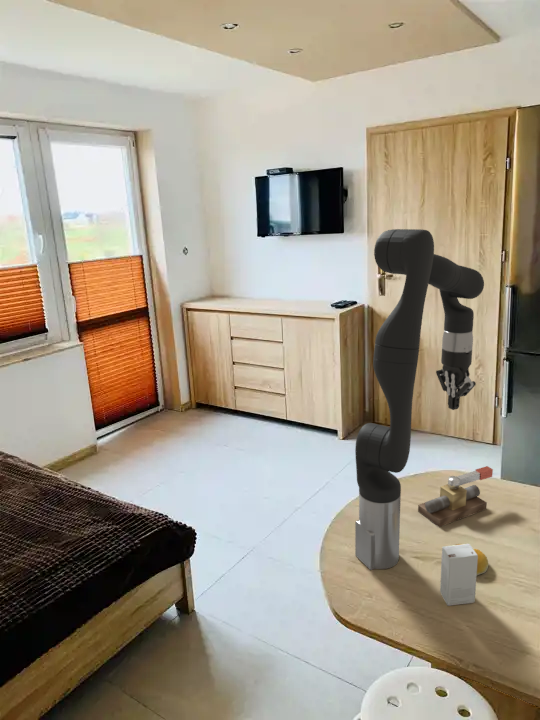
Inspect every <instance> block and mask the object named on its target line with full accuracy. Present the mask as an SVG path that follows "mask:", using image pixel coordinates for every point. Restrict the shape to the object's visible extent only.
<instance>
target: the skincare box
mask: <svg viewBox="0 0 540 720" xmlns="http://www.w3.org/2000/svg"><path fill="white" fill-rule="evenodd" d="M460 544H461V545H456V544H454V545H445V546H441V567H440V568H441V569H440V584H439V585H440V586H439V587H440V588H439V592H440V594H441V597H442V599H443V601H444V602H445V604H446V606H447V607H448V606H449V607H450V606H456V605H465V604H466V605H467V604H473V603H476V601H475V599H476V588H477V587H476V586H477V576H478V575H477V560H478V555H477V554H476V552H475V551H474V550H473V549H474V547H473V546H472V545H471V544H470V543H460Z"/></svg>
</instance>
